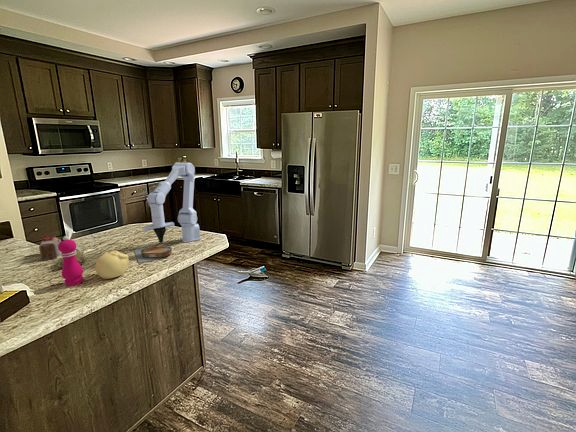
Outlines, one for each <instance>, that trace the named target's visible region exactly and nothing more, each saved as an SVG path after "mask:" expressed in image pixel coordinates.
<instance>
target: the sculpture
mask: <svg viewBox="0 0 576 432" xmlns="http://www.w3.org/2000/svg"><path fill="white" fill-rule="evenodd" d="M129 262H130V260H129V255H128V254H125V253H123V252H120V251H118V250H112V251H111V250H110V251H105V252H104V253H102V255H100V256H99V257H98V258H97V260H96V261H95V267H94V268H95V272H96V274H97V275H98V276H99V277H100V278H102V279H105V280H106V279H107V280H108V279H113V278H117V277H120V276H123V275H124V274H125V272H126V271H127V269H128V266H129V264H130V263H129Z"/></svg>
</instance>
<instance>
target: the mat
mask: <svg viewBox="0 0 576 432" xmlns="http://www.w3.org/2000/svg"><path fill="white" fill-rule="evenodd" d="M153 247H156V246H153ZM145 248H146V247H144V248H140V249H134V250H133V251H134V253H135V256H136V260H137V263H138V264H143V263H149V262H153V261H157V260H162V259H163V257H142V254H141V251H142V250H143V249H145Z"/></svg>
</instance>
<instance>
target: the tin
mask: <svg viewBox="0 0 576 432" xmlns="http://www.w3.org/2000/svg"><path fill="white" fill-rule="evenodd" d="M144 248H145V249H143V248H142V249H143V250H142V251H141V254H142V257H162V258H163V257H168V256H170V255H172V253H173V251H172V246H155V247H154V246H149V247H144Z"/></svg>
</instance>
